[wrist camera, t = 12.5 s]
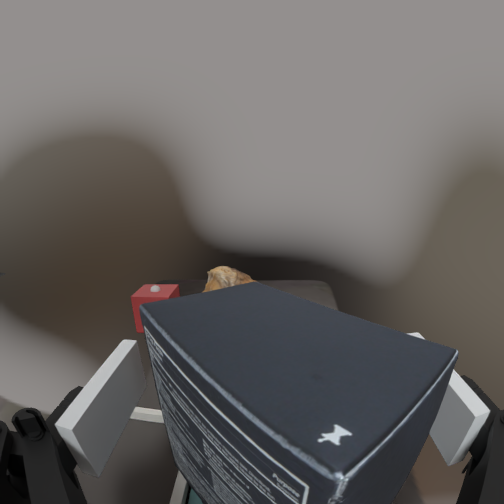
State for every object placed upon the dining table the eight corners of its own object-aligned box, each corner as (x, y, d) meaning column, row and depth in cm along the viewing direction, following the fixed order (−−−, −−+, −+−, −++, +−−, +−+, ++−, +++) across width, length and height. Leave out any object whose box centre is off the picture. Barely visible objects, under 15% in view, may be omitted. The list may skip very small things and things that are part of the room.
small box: (390, 512, 9) (470, 342, 7) (292, 594, 5) (342, 498, 3) (260, 424, 18) (257, 273, 15) (171, 464, 14) (130, 302, 12)
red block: (137, 332, 32) (130, 291, 31) (149, 317, 37) (144, 279, 36) (173, 334, 32) (167, 292, 31) (182, 318, 37) (178, 279, 36)
